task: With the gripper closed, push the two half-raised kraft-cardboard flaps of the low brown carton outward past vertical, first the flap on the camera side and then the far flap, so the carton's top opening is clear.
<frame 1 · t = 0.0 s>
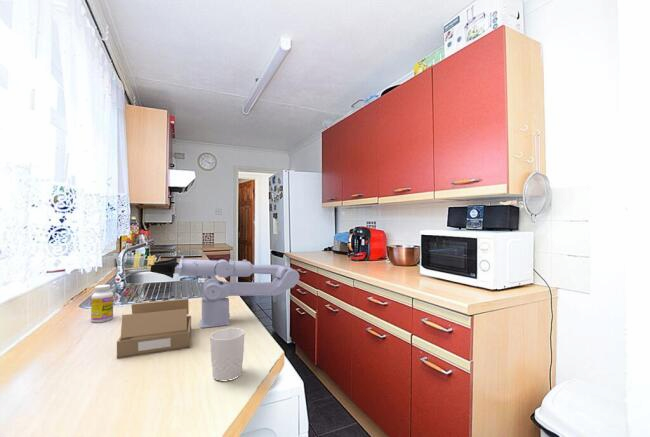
hand: (152, 266, 103), 22 cm above the counter, tool horizontal, fingers open, 7 cm apart
far flap: (161, 309, 100), point 8 cm above the counter, hinge at 70.0°
supplement bottle: (102, 320, 114), on the counter
white cup: (227, 375, 74), on the counter
near flap: (155, 322, 87), point 8 cm above the counter, hinge at 70.0°
carton: (158, 341, 94), on the counter
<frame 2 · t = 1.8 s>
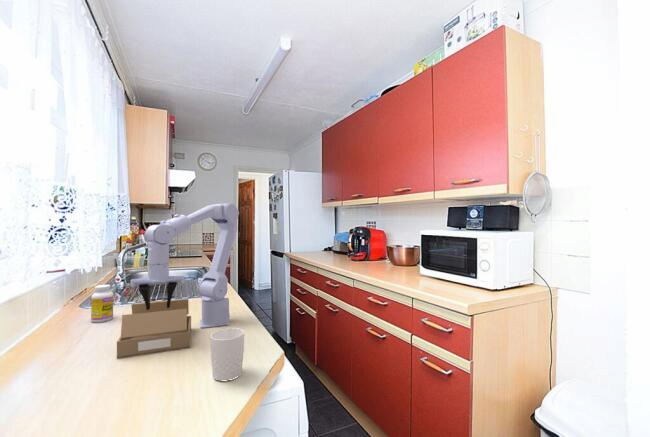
hand: (158, 307, 94), 10 cm above the counter, tool pointing down, fingers open, 5 cm apart
nothing on the counter moved.
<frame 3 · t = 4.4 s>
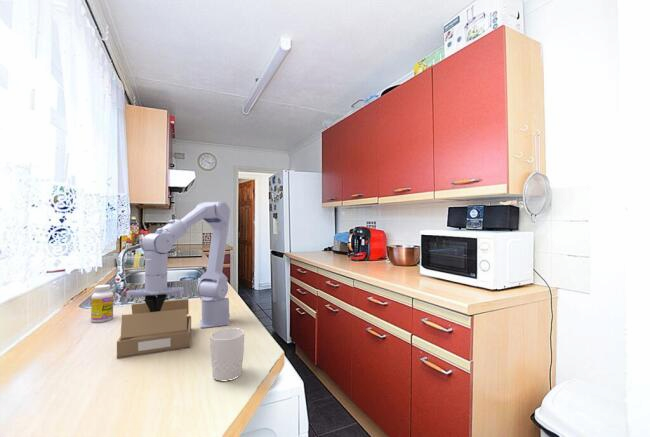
hand: (155, 321, 89), 8 cm above the counter, tool pointing down, fingers closed, pressing on near flap
near flap: (155, 322, 87), point 8 cm above the counter, hinge at 75.0°, touching gripper
everything else where it was.
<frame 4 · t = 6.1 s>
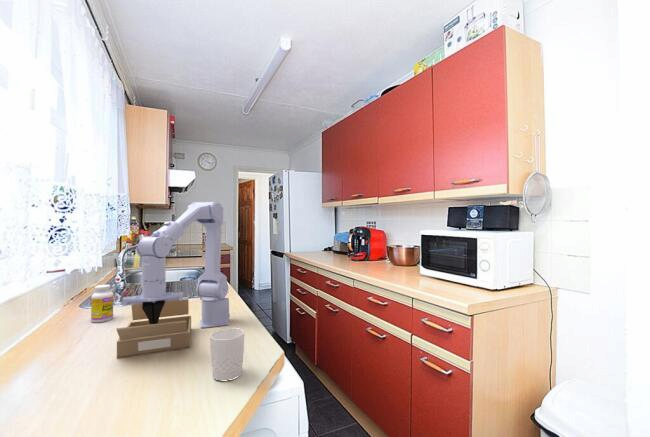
hand: (154, 328, 85), 7 cm above the counter, tool pointing down, fingers closed, pressing on near flap
near flap: (153, 330, 84), point 7 cm above the counter, hinge at 135.9°, touching gripper
everything else where it was.
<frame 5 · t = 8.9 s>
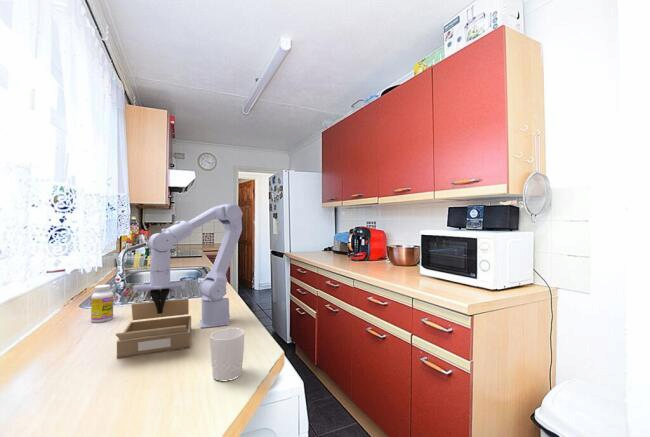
hand: (160, 312, 98), 8 cm above the counter, tool pointing down, fingers closed, pressing on far flap
far flap: (161, 309, 100), point 8 cm above the counter, hinge at 70.7°, touching gripper
near flap: (153, 332, 84), point 7 cm above the counter, hinge at 148.1°
everything else where it was.
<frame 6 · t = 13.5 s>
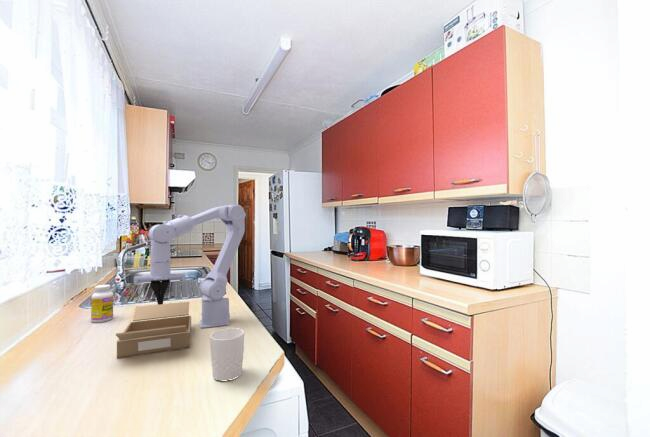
hand: (160, 303, 98), 10 cm above the counter, tool pointing down, fingers closed
far flap: (162, 311, 104), point 6 cm above the counter, hinge at 149.4°
everything else where it was.
at the end: near flap at +148° (first picture: +70°); far flap at +149° (first picture: +70°) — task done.
